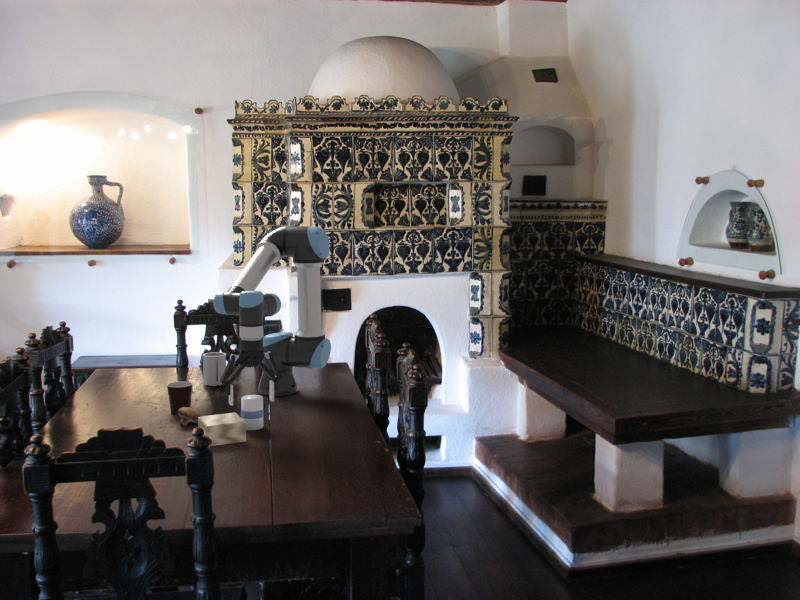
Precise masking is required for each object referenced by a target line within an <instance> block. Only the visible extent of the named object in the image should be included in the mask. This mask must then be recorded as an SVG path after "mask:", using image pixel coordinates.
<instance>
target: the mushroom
mask: <svg viewBox="0 0 800 600" xmlns="http://www.w3.org/2000/svg"><path fill="white" fill-rule="evenodd" d="M178 416H179V417H180V420H179V422H180V424H181V425H183V426H187V425H188V424H190V423H193V424H198V417H200V416H201V414H200V412H199V411H198V410H197V409H195V408H192V407H191V406H190V407H182V408H180V409H179V410H178Z"/></svg>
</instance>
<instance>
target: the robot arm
mask: <svg viewBox="0 0 800 600" xmlns="http://www.w3.org/2000/svg"><path fill="white" fill-rule="evenodd" d="M329 240H330V239H329V236H328V234H327V231H325V229H323V228H322V227H320V226H319V227H318V226H308V225H307V226H304V225H303V226H297V225H296V226H294V225H293V226H292V225H291V226H290V225H286V226H280V227H278V228H276V229H274V230H272V231H270V232H269V233H267V234H266V235H265V236H263V237H262V239H261V240H260V241H259V243H258V244H257V245H256V248H255V253H254V254H253V256H252V257H251V258H250V260H249V261H248V262H247V264H246V265H245V266H244V268H243V269H242V270H241V272H240V273H239V274H238V276H237V277H236V279H235V280H234V281H233V282H232V284H231V285H230V287H229V288H228V289H227V291H221V292H217V293H216V294H214V297H213V301H212V302H213V308H214V311H215V312H216V313H217V314H220V315H227V316H228V315H230V316H231V315H232V316H239V338H240V339H239V353H238V354H233V353H230V354H229V358H228V363H226V368H225V370H224V373H223V375H222V377H221V379H220V382H221V383H222V384H224V386H225V394H226V396H228V404H229V405H230V406H232V407H233V406H234V385H233V383H234V381H235V380H236V378H238V376H239V375H240V374H241V372H242V371H243V370H244V369H245V368H247V369H248V368H253V367H254V368H257V367H258V366H259V367H260V368H261V369H262V374H261V377H260V379H259V384H258V388H257V390H258V391H257V392H258V393H259V395H261V396H267V395H268V396H267V397H269V401H270V402H271V403H272V402H275V397H281V396H283V397H284V395H285V396H290V395H289V394H291V395H293V394H292V393H294V394H296V393H297V392H298V383H297V381H296V378H295V375H294V368H303V369H312V370H313V369H317V370H318V369H323V368H324V367H325V366H326V365H327V363H328V361H329V359H330V355H331V353H332V352H331V351H332V344H331V340H330V339H329V338H326V332H325V331H324V330H323V329H322V315H321V314H322V310H321V309H322V308H321V307H322V305H321V304H322V303H321V266H323V264H324V263H325V259H326V258H327V257H329V253H330V241H329ZM282 258H292V263H293V264H294V265H295V267H296V272H297V273H296V275H297V315H298V316H297V317H298V318H297V319H298V320H297V322H298V323H297V324H298V325H297V326H298V329H297V330H296V331H295V332H294V334H293V332H292V331H283V332H282V331H281V332H274V333H269V334H267V335H264V318H267V317H273V316H274V315H276V314H278V313H279V312H280V310H281V308H282V301H281V299H280V297H279V296H278V295H277V294H276V293H263V292H262V291H260V290H256V289H257V288H258V286H259V285H260V283H261V282H262V281H263V279H264V278H265V276H266V274H267V273H268V272H269V270H270V268H272V266H273V264H275V263H278V262H279V261H280V259H282ZM238 359H239V361H240V362H239V363H238V365H237V366H236V367H235V369H234V370H233V367H234V365H235V362H237V360H238ZM232 370H233V371H232ZM231 372H232V373H231ZM230 373H231V374H230ZM295 392H296V393H295Z"/></svg>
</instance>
